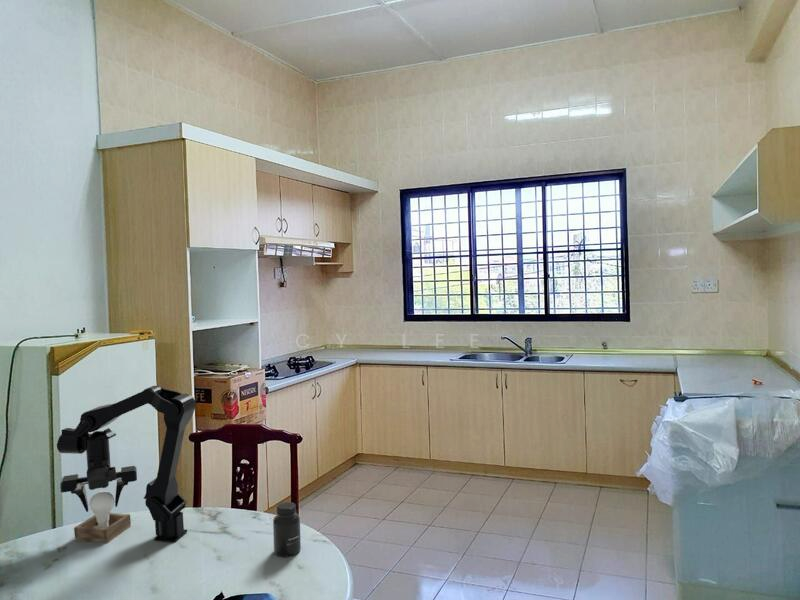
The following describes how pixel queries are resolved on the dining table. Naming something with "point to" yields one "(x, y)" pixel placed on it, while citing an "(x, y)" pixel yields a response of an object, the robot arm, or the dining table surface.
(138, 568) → the dining table surface
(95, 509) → the lightbulb
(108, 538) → the brown square tray
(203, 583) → the dining table surface
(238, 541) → the dining table surface
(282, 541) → the supplement bottle
